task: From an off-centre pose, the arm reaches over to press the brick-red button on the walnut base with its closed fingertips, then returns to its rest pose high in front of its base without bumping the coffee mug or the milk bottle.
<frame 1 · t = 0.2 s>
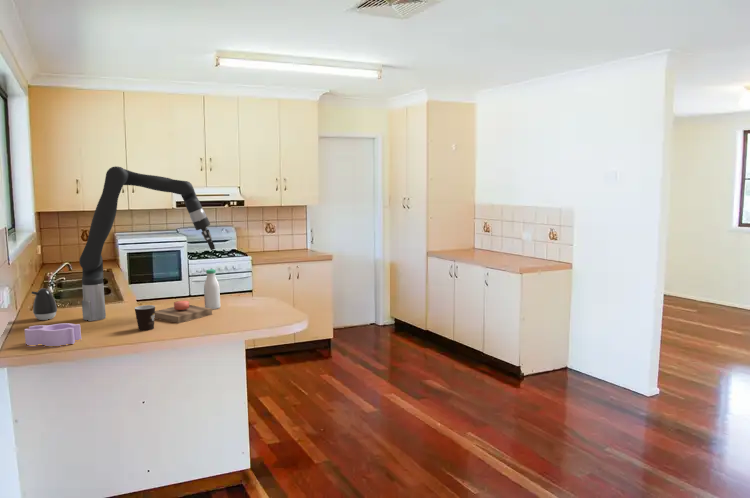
hand: (212, 248, 307), 31 cm above the countertop, tool tilted 20°, fingers open, 8 cm apart
milk bottle: (212, 308, 314), on the countertop
coffee mug: (149, 328, 275), on the countertop
button base: (182, 316, 297), on the countertop
clip: (53, 343, 253), on the countertop
pump dispenser: (45, 319, 296), on the countertop
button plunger: (181, 305, 297), point 5 cm above the countertop, slide at 0.0 cm
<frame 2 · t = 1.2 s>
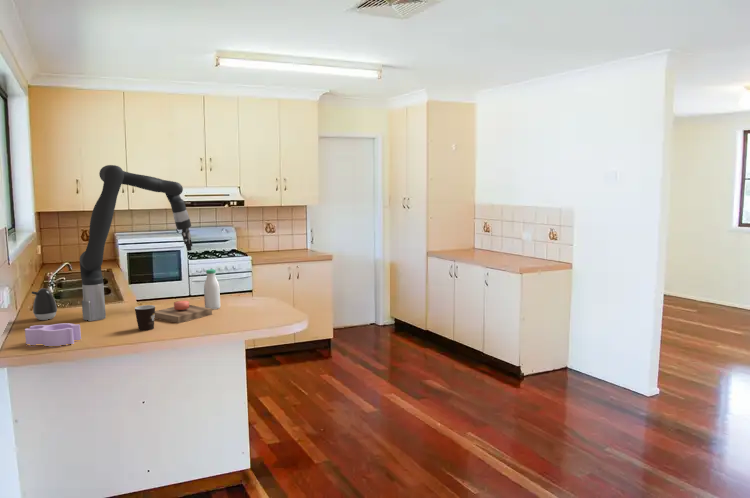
hand: (190, 248, 323), 30 cm above the countertop, tool pointing down, fingers open, 8 cm apart
nothing on the countertop moved.
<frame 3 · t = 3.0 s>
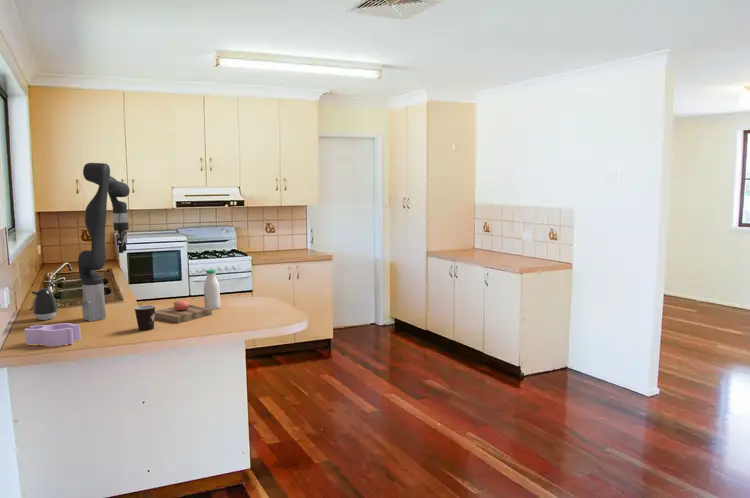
hand: (122, 252, 327), 28 cm above the countertop, tool pointing down, fingers open, 7 cm apart
nothing on the countertop moved.
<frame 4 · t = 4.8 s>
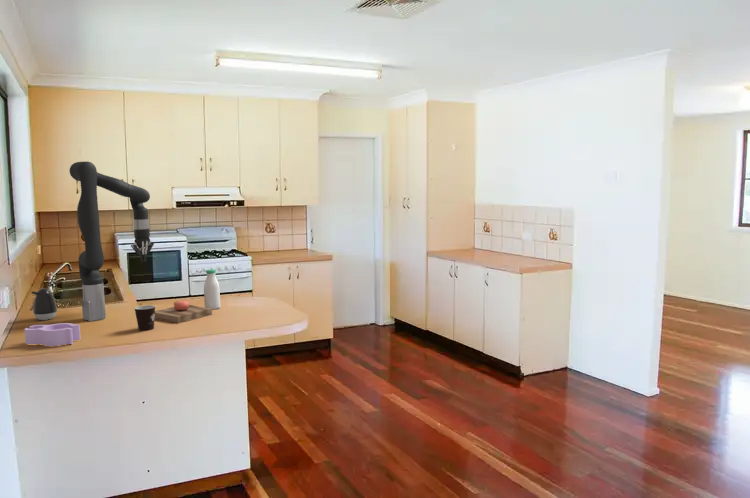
hand: (143, 261, 315), 24 cm above the countertop, tool pointing down, fingers closed
nothing on the countertop moved.
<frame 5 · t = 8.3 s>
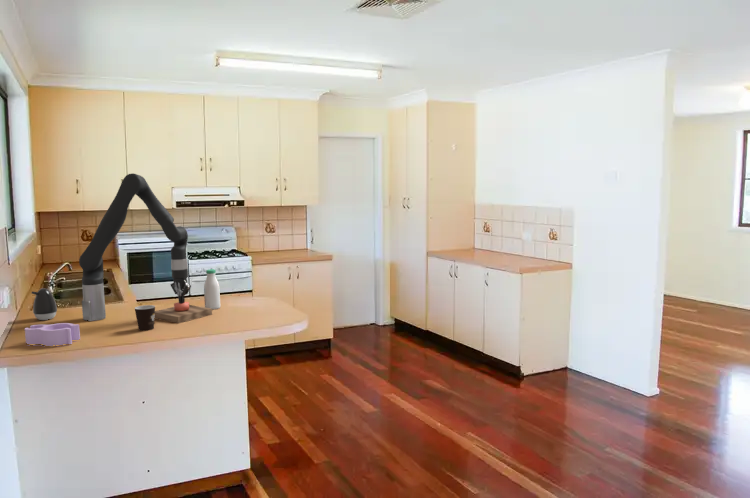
hand: (181, 303, 297), 6 cm above the countertop, tool pointing down, fingers closed
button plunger: (181, 306, 297), point 5 cm above the countertop, slide at 0.5 cm, touching gripper
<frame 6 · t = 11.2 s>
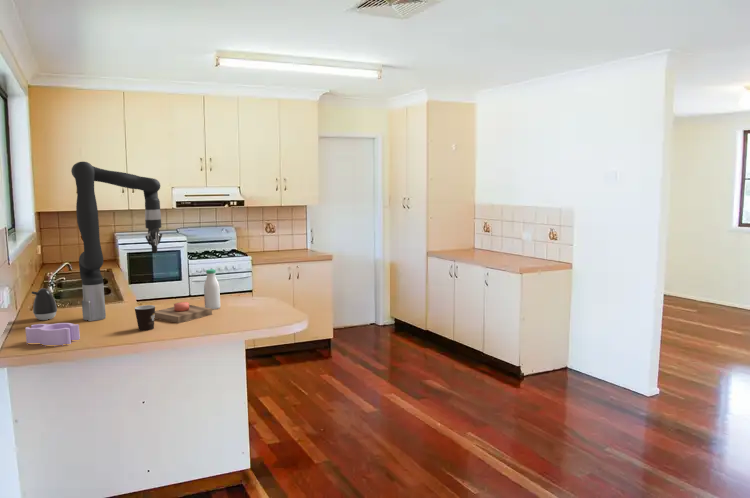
hand: (154, 253, 307), 30 cm above the countertop, tool pointing down, fingers closed
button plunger: (181, 306, 297), point 5 cm above the countertop, slide at 0.7 cm
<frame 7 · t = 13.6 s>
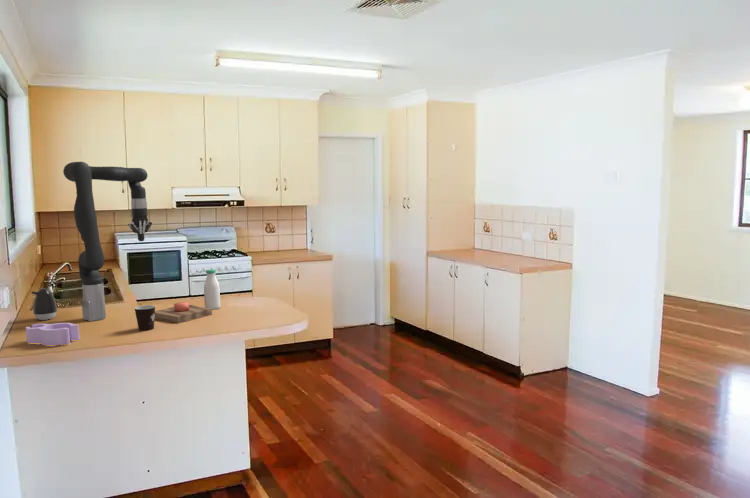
hand: (141, 241, 314), 35 cm above the countertop, tool pointing down, fingers closed
at the end: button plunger slide at 0.7 cm; milk bottle moved 0.2 cm from its start; coffee mug moved 0.2 cm from its start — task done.
